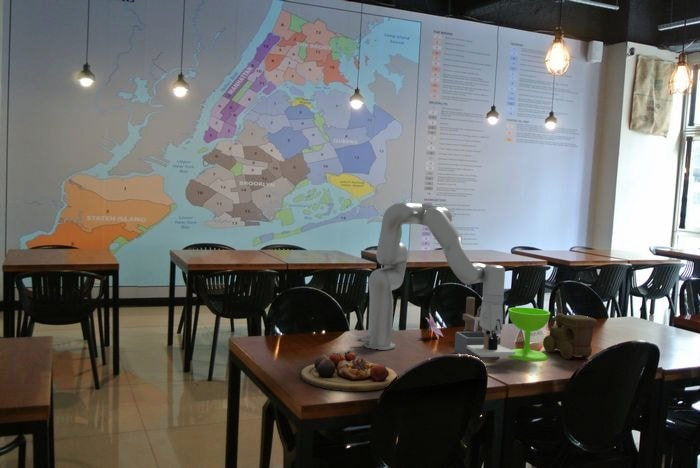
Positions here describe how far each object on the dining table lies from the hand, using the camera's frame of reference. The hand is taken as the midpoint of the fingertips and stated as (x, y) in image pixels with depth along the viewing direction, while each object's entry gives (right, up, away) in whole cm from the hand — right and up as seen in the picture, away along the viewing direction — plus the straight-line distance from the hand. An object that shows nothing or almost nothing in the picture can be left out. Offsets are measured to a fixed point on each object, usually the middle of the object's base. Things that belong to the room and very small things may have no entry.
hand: (490, 347), depth 233 cm
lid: (0, -2, 0) cm, 2 cm away
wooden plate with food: (-52, -7, -23) cm, 57 cm away
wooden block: (+4, -4, +47) cm, 47 cm away
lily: (-15, -4, +44) cm, 47 cm away
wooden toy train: (+36, -7, +22) cm, 42 cm away
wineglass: (+18, -7, +17) cm, 26 cm away
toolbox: (-2, -5, +17) cm, 18 cm away
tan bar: (0, +5, +31) cm, 32 cm away
